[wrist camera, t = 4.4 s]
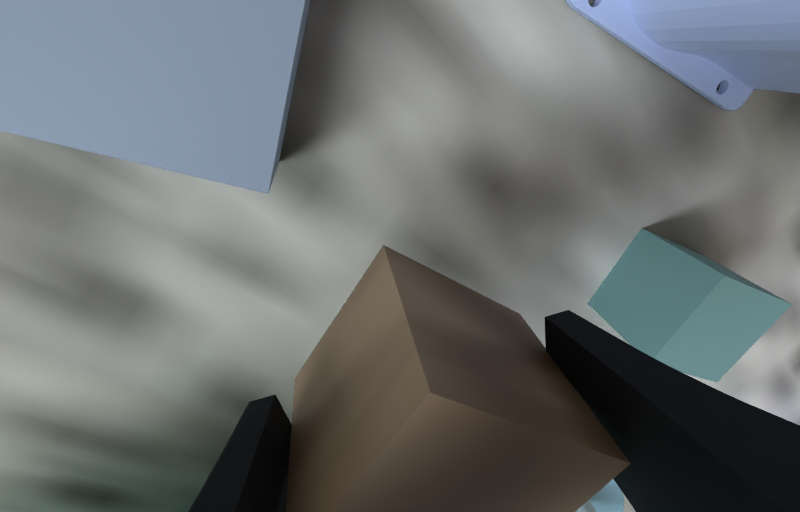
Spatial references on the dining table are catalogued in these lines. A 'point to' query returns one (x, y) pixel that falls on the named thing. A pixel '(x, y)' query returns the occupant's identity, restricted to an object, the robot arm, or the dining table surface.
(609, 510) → the pacifier
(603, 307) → the green block
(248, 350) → the dining table surface
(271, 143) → the slate base block
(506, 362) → the walnut block
